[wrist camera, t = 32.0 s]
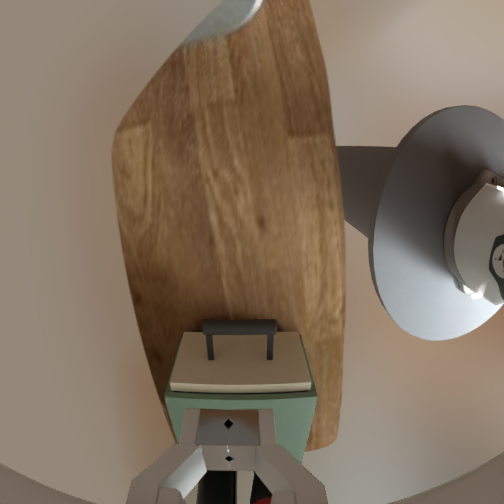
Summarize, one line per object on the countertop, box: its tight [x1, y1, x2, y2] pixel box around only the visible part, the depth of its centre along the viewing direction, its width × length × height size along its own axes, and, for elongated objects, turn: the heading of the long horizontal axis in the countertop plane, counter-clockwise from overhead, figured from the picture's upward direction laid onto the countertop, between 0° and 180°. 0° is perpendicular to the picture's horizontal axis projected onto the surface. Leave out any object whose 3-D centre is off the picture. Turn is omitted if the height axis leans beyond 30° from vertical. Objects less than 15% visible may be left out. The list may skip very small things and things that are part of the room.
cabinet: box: [164, 335, 318, 463], centre depth 33 cm, size 15×15×11 cm
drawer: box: [170, 319, 311, 394], centre depth 31 cm, size 18×13×9 cm
